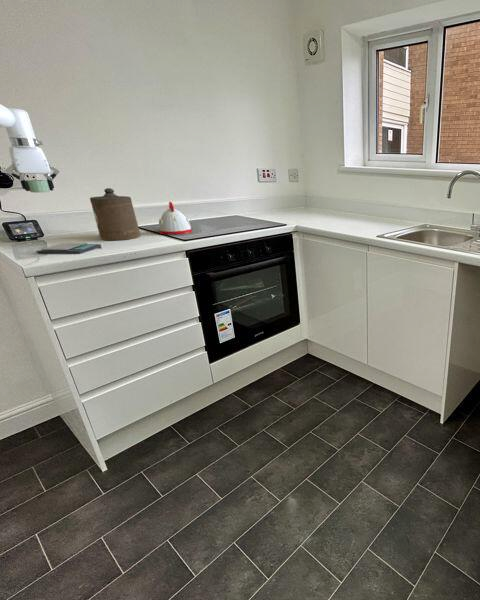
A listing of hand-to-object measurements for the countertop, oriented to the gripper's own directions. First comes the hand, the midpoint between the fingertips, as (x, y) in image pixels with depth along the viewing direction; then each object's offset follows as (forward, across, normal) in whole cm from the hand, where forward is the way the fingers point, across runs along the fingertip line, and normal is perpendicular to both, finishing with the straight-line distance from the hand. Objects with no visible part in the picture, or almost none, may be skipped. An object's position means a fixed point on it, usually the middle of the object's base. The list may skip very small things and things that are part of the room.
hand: (39, 190), depth 145 cm
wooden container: (+21, -21, +9) cm, 31 cm away
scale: (+21, +1, +31) cm, 37 cm away
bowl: (+1, 0, 0) cm, 1 cm away
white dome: (+21, -44, +12) cm, 50 cm away
